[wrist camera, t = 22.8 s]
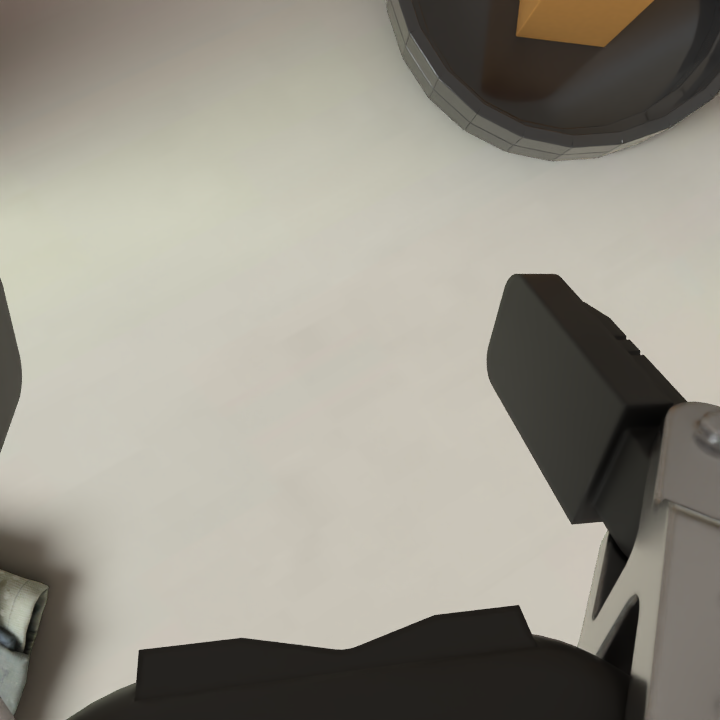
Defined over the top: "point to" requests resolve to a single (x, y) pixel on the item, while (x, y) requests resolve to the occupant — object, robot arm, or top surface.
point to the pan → (560, 74)
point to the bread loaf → (577, 19)
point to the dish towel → (17, 632)
